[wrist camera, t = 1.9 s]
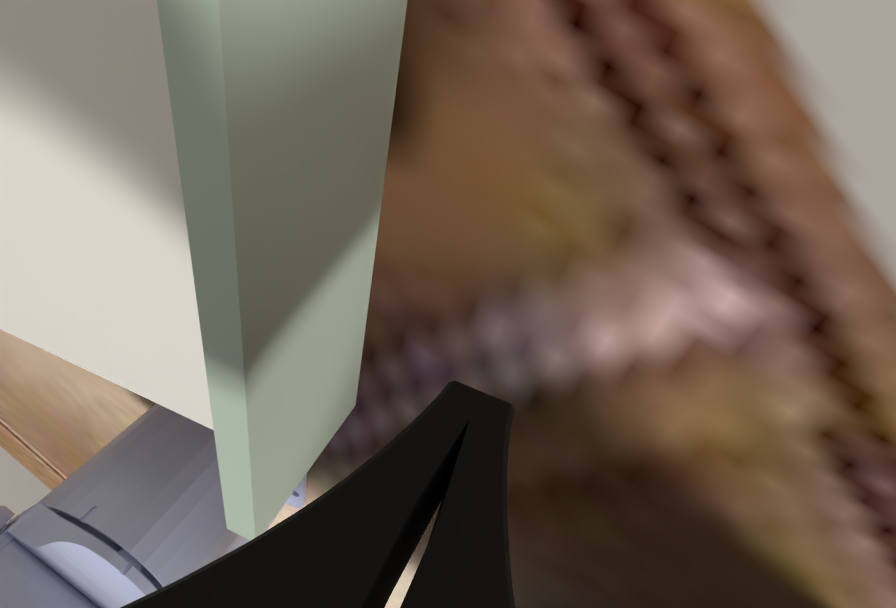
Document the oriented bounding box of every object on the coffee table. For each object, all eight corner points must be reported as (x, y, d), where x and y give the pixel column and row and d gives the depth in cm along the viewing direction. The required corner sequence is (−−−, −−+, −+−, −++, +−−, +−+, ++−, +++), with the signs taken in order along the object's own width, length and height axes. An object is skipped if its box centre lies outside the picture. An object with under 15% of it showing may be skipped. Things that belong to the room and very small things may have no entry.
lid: (355, 405, 19) (255, 543, 15) (-29, 236, 23) (-211, 305, 18) (411, -34, 11) (215, -40, 6) (-219, -204, 14) (-661, -293, 9)
